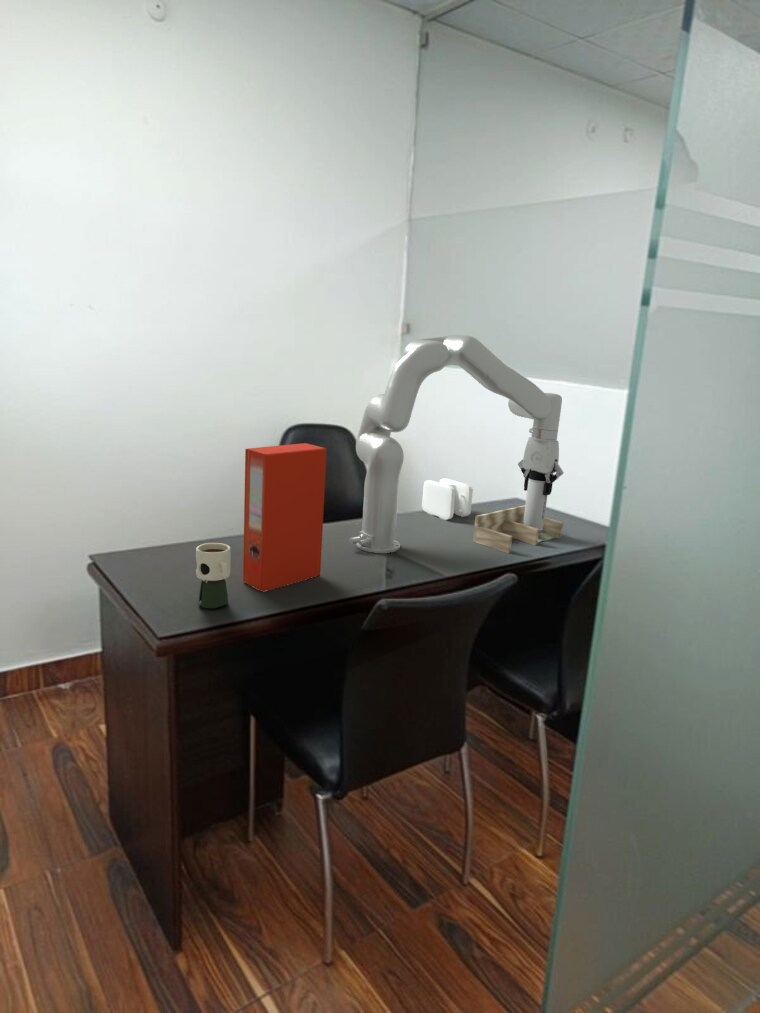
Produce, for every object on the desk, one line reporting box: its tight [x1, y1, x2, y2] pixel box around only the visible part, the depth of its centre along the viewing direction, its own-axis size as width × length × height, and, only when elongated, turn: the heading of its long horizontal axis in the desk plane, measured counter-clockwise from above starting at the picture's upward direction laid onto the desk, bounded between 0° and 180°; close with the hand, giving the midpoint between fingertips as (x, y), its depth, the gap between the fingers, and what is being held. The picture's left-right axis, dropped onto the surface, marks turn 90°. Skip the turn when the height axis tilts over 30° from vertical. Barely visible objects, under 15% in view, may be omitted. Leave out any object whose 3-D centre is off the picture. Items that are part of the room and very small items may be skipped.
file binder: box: [242, 442, 327, 591], centre depth 157 cm, size 8×17×32 cm, turn 136°
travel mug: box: [523, 469, 548, 534], centre depth 207 cm, size 6×7×20 cm
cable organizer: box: [421, 477, 473, 521], centre depth 227 cm, size 15×11×12 cm
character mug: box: [195, 542, 232, 609], centre depth 142 cm, size 11×7×13 cm, turn 41°
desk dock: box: [472, 504, 564, 554], centre depth 204 cm, size 28×13×8 cm, turn 134°
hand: (537, 492), depth 206 cm, fingers closed on travel mug, 6 cm apart
